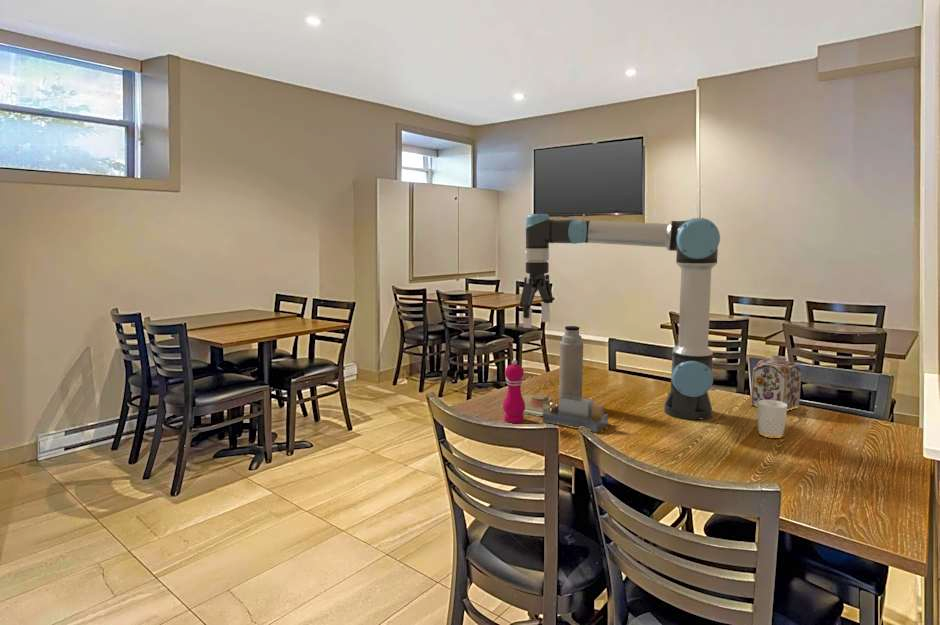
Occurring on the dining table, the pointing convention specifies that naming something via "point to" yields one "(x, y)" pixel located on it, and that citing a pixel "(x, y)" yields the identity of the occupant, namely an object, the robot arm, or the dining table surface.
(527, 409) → the rubber mat
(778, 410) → the white cup
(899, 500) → the dining table surface
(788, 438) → the dining table surface
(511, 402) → the pepper mill
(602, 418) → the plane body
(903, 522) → the dining table surface
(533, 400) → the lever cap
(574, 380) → the thermos bottle
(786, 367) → the decorative jar
